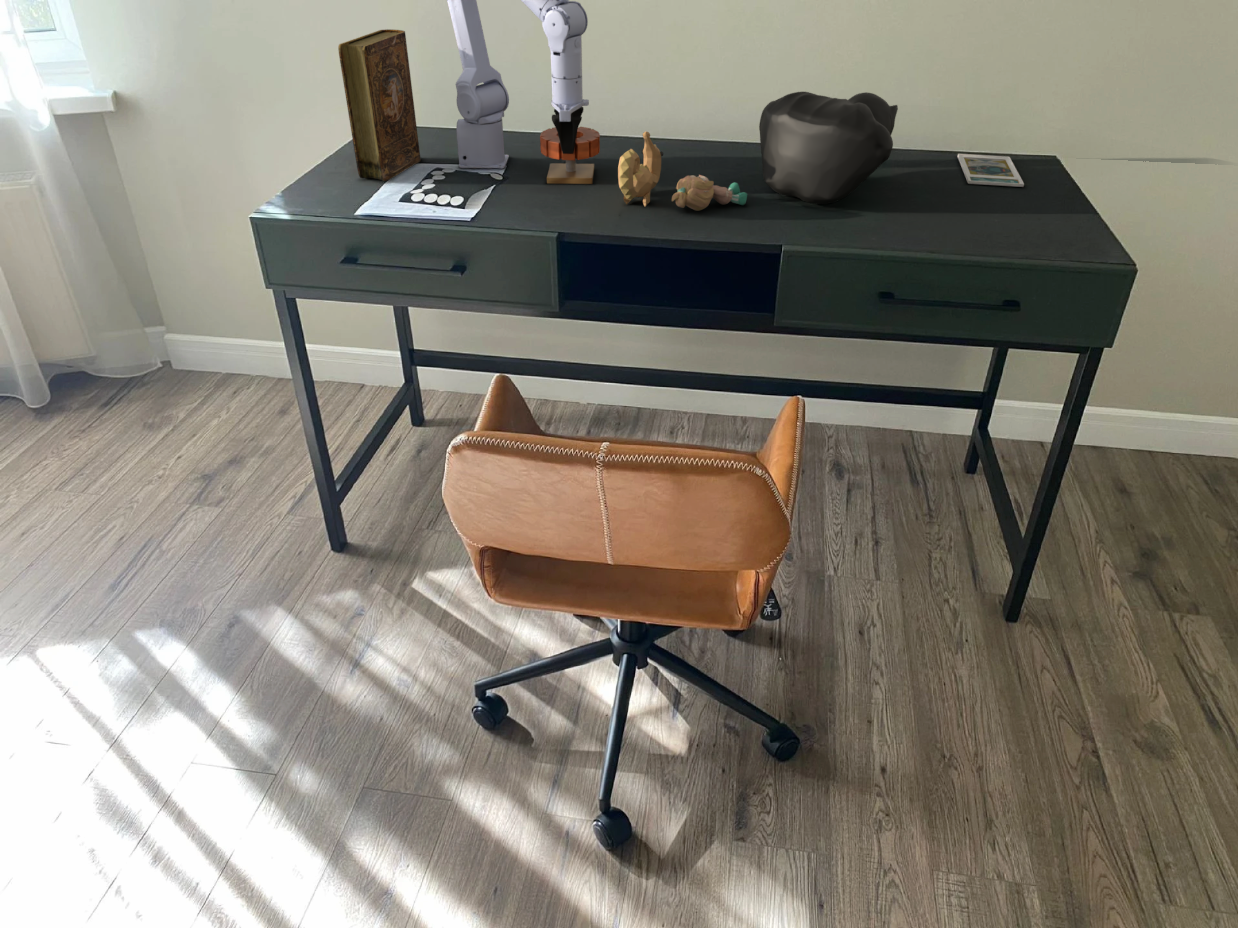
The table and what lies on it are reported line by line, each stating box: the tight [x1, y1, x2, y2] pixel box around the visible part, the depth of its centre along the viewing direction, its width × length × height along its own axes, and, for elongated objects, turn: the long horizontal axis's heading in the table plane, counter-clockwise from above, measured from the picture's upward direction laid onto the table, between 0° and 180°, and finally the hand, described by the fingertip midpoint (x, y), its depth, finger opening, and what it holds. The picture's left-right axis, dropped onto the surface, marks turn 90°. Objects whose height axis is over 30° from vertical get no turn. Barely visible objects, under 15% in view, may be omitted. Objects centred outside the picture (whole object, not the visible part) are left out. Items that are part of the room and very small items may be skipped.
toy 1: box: [617, 131, 664, 207], centre depth 168 cm, size 5×12×20 cm
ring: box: [539, 126, 601, 161], centre depth 179 cm, size 12×12×3 cm
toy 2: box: [671, 174, 748, 212], centre depth 168 cm, size 8×7×15 cm
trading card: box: [957, 153, 1025, 188], centre depth 186 cm, size 11×1×18 cm
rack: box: [546, 158, 595, 185], centre depth 181 cm, size 9×9×6 cm
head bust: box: [758, 91, 899, 205], centre depth 174 cm, size 28×20×30 cm
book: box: [337, 28, 421, 182], centre depth 179 cm, size 16×6×25 cm, turn 161°
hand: (568, 150), depth 176 cm, fingers closed on ring, 3 cm apart
